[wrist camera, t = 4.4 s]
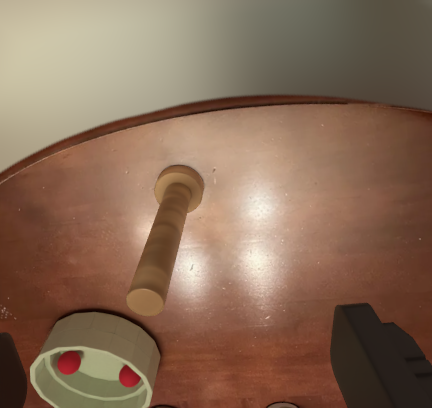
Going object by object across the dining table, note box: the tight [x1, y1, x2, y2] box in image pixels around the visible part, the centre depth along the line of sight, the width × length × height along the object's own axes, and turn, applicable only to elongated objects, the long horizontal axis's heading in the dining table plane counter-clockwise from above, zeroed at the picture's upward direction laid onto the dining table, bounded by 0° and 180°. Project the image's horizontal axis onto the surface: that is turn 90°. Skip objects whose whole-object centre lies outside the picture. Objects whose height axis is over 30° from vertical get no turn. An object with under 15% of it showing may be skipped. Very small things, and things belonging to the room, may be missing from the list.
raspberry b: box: [57, 351, 81, 375], centre depth 49 cm, size 3×3×3 cm
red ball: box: [119, 364, 141, 387], centre depth 50 cm, size 3×3×3 cm
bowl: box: [30, 312, 160, 408], centre depth 48 cm, size 14×14×6 cm
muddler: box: [126, 165, 204, 316], centre depth 31 cm, size 4×4×15 cm
